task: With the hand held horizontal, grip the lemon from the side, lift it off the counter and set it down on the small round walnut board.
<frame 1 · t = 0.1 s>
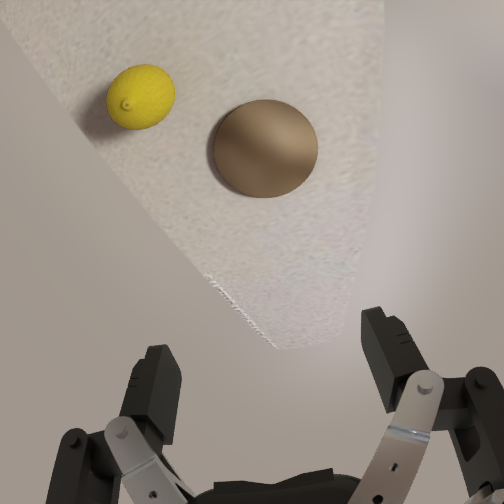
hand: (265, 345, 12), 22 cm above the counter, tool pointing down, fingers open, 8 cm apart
lemon: (153, 89, 26), on the counter
walnut board: (265, 149, 30), on the counter
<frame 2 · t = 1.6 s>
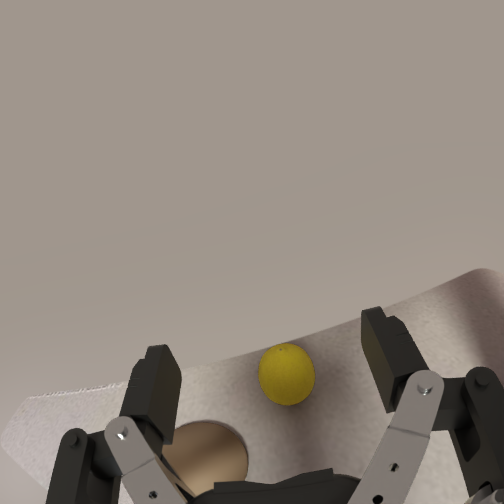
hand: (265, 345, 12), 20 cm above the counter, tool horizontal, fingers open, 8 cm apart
lemon: (291, 398, 32), on the counter
walnut board: (198, 465, 26), on the counter
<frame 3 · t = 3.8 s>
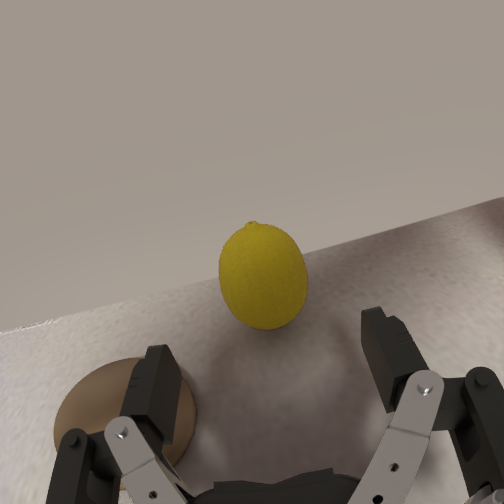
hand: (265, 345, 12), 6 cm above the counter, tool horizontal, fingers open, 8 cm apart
lemon: (274, 327, 22), on the counter
walnut board: (121, 421, 17), on the counter
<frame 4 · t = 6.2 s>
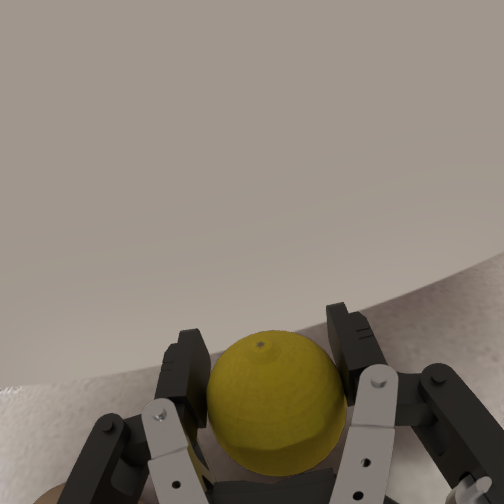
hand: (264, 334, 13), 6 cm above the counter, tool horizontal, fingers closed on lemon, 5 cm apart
lemon: (288, 450, 14), on the counter, touching gripper
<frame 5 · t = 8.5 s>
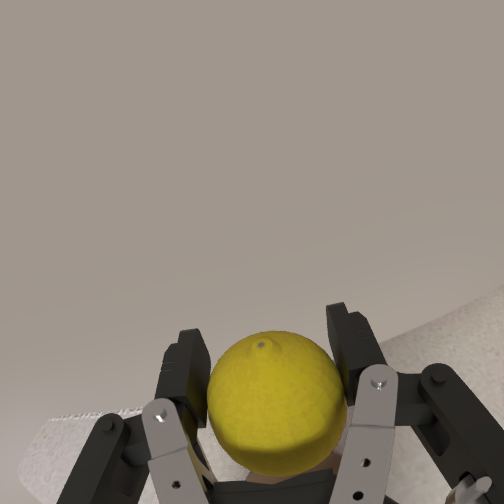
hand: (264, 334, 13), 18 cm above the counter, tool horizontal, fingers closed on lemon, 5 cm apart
lemon: (289, 450, 14), point 11 cm above the counter, touching gripper
walnut board: (302, 501, 19), on the counter
when the fingers open (8 cm above the counter, at t = 10.9 s): lemon drops 1 cm, resting on walnut board.
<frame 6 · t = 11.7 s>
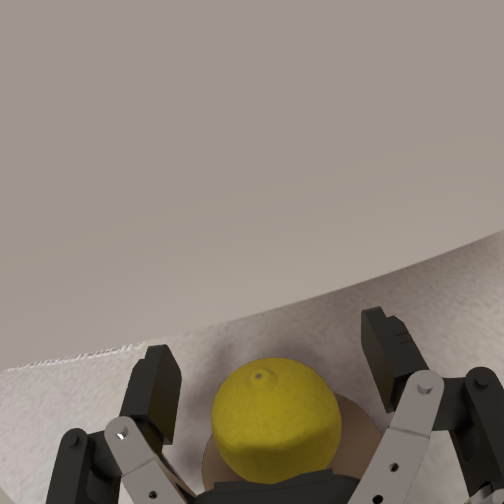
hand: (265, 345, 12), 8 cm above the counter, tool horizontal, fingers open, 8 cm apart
lemon: (290, 461, 14), point 1 cm above the counter, touching walnut board
walnut board: (292, 463, 15), on the counter
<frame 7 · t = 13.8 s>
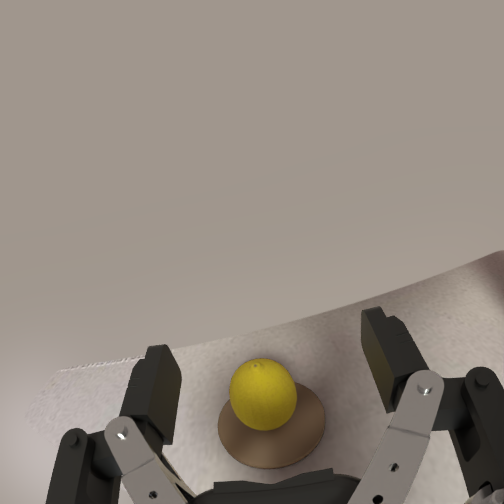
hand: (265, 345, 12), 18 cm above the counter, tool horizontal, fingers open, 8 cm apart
lemon: (269, 421, 27), point 1 cm above the counter, touching walnut board
walnut board: (271, 423, 27), on the counter
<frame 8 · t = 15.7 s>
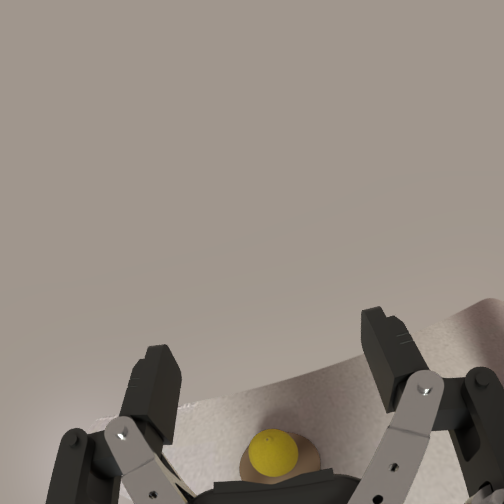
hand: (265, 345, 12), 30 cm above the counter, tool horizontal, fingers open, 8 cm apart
lemon: (278, 466, 33), point 1 cm above the counter, touching walnut board
walnut board: (280, 466, 33), on the counter
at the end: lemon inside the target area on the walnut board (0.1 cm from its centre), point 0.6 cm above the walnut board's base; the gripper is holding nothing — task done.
